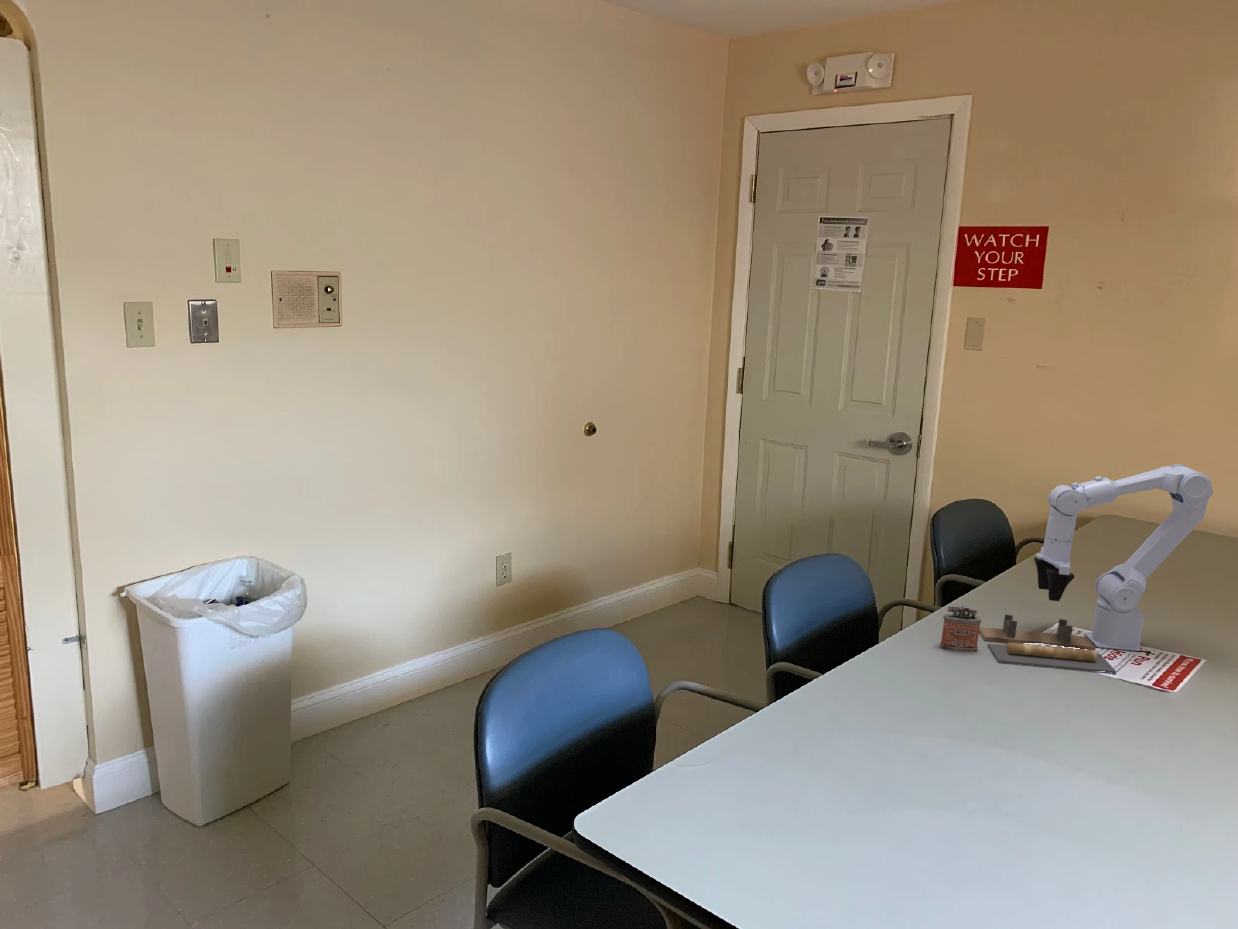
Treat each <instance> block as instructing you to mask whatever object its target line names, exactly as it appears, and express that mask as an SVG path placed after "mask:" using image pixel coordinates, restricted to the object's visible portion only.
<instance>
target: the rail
mask: <svg viewBox="0 0 1238 929" xmlns="http://www.w3.org/2000/svg"><path fill="white" fill-rule="evenodd" d="M1006 645H1007V653H1008V654H1018V655H1029V656H1040V657H1050V658H1061V659H1071V660H1082V661H1092V662H1096V660H1097V654H1098V652H1097V650H1096V649H1095V650H1084V649H1073V648H1062V647H1052V646H1041V645H1030V644H1019V643H1009V642H1008V643H1006Z"/></svg>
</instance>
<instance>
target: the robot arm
mask: <svg viewBox="0 0 1238 929" xmlns="http://www.w3.org/2000/svg"><path fill="white" fill-rule="evenodd" d="M1071 484H1072V485H1071V486H1069V485H1067V484H1066V485H1065V484H1060V485H1057V486H1055V487H1054V489H1052V490H1051V491H1050V493H1049V494H1047V502H1048V503H1049V506H1050V509H1049V514H1048V518H1047V523H1046V528H1045V535H1044V541H1043V546H1041V547H1040V550H1039V551H1040V552H1039V553H1036V554H1035V555H1036V556H1034V557H1033V561H1034V564H1035V568H1036V571H1037V572H1036V573H1037V585H1038V586H1037V587H1038V589H1039V590H1045V591H1046V590H1047V591H1048V600H1049V601H1052V602H1053V601H1054V602H1060V601H1061V599H1062V597H1063V594H1064V592H1065V590H1066V588H1067V586H1068V585H1069V584H1070V583H1071V582H1072V580H1074V579H1075V574H1073V573H1072V572H1071V569H1072V568H1071V566H1070V565H1071V564H1070V563H1071V553H1072V552H1071V551H1072V546H1073V541H1074V535H1075V530H1076V524H1077V517H1078V515H1079V513H1081V512H1082V511H1083V509H1089V508H1092V507H1093V508H1094V507H1098V506H1102V505H1107V504H1112V503H1114V502H1116V500H1117V498H1118V497H1119V496H1122V495H1128V494H1134V493H1139V492H1147V491H1151V490H1161V491H1164V492H1167V493H1168V494H1169V496H1170V498H1171V502H1172V508H1173V510H1172V512H1171V513H1169V514H1168V516H1167V517H1166V518H1165V519H1164V521H1162V522H1161V523H1160V524H1159V526H1158V527H1157V528H1156V529H1155V530H1154V531H1153V532H1152V533H1151V534H1150V535H1149V536H1148V537H1147V539H1146V540H1144V541H1143V543H1142V544H1141V545H1140V546H1139V547H1138V548H1137V549H1136V550H1135V551H1134V553H1133V554H1132V555H1131V556H1130V557H1129V558H1128V559H1127V560H1126V561H1125V562H1123V563H1120V564H1117V565H1116V566H1115V565H1114V566H1113V568H1111V570H1109V571H1108V572H1105V573H1103V574H1101V575H1100V576H1099V577H1097V579H1096V581H1095V591H1096V592H1097V594H1098V595H1099V597H1098V598H1097V600H1096V606H1095V607H1096V608H1095V611H1094V612H1095V613H1094V620H1093V626H1092V630H1091V632H1087V631H1086V632H1084V635H1085V637H1087V638H1088V639H1089V640H1090V641H1091V642H1092V643H1094V646H1095V647H1096V648H1101V647H1102V648H1103V649H1113V650H1114V649H1116V650H1126V651H1138V652H1140V651H1141V648H1140V644H1141V640H1142V634H1143V630H1144V629H1143V628H1144V614H1143V612H1142V610H1141V609H1140V608H1138V607H1137V606H1138V605H1139V602H1140V598H1141V596H1142V594H1144V592H1145V591H1146V589H1147V588H1146V586H1147V579H1148V578H1149V577H1150V576H1151V575H1152V574H1153V573H1154V571H1155V570H1156V569H1158V567H1159V566H1160V565H1161V564H1162V563H1164V561H1165V560H1166V558H1168V557H1169V556H1170V554H1171V553H1172V552H1173V551H1174V550H1175V549H1176V548H1177V547H1178V546H1179V545H1180V543H1181V542H1183V540H1185V539H1186V538H1187V536H1188V535H1189V534H1190V533H1191V532H1192V531H1193V530H1194V529H1195V528H1196V527H1197V526H1198V525H1199V524H1200V523H1201V522H1202V520H1203V519H1204V516H1205V513H1206V510H1207V507H1208V503H1209V500H1210V498H1211V497H1212V496H1214V490H1213V484H1212V481H1211V479H1210V478H1209V476H1208V475H1207V474H1205V473H1203V472H1201V471H1200V472H1199V471H1197V470H1194V469H1192V468H1190V466H1187V465H1185V464H1181V463H1179V464H1178V463H1176V464H1173V465H1166V466H1161V467H1158V468H1156V469H1152V470H1149V471H1146V472H1141V473H1137V474H1135V475H1131V476H1128V477H1124V478H1119V479H1117V480H1111V479H1110V478H1108V477H1101V476H1100V475H1098V476H1095V477H1094V478H1093V480H1088V481H1084V482H1081V483H1078V482H1076V481H1075V482H1073V483H1071ZM1136 607H1137V608H1136Z"/></svg>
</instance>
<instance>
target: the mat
mask: <svg viewBox="0 0 1238 929" xmlns="http://www.w3.org/2000/svg"><path fill="white" fill-rule="evenodd" d="M987 648H988V649H989V651H990V650H991V651H990V652H991V653H992V655H993V657H994V658H995V660H996V661H998V662H999V663H998V662H997V663H998V664H1008V665H1009V664H1010V665H1017V664H1023V665H1022V666H1027V665H1033V666H1032V667H1038V666H1041V667H1040V668H1048V667H1056V668H1055V669H1059V668H1064V669H1063V670H1069V669H1071V670H1070V671H1081V672H1090V671H1105V672H1112V673H1116V674H1117V670H1116V669H1114V667H1113V666H1112V665H1111V664H1110V663H1109V662H1108V660H1106V658H1105V657H1104V656H1103V655H1102V654H1101V653H1097V660H1096V662H1092V661H1082V660H1071V659H1061V658H1050V657H1040V656H1029V655H1018V654H1008V653H1007V644H997V643H995V644H994V643H988V644H987Z"/></svg>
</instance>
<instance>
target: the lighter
mask: <svg viewBox="0 0 1238 929" xmlns="http://www.w3.org/2000/svg"><path fill="white" fill-rule="evenodd" d="M947 612H948V613H945V614H943V618H942V619H943V624H942V626H943V627H942V633H941V639H940V643H939V648H941V650H945V651H952V652H959V653H977V652H978V648H979V647H978V642H979V635H980V633H979V628H980V627H981V623H982V618H981V617H979V616H977V613H978V609H977V608H976V607H968V605H965V604H964V605H961V606H959V605H949V606H947Z"/></svg>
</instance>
